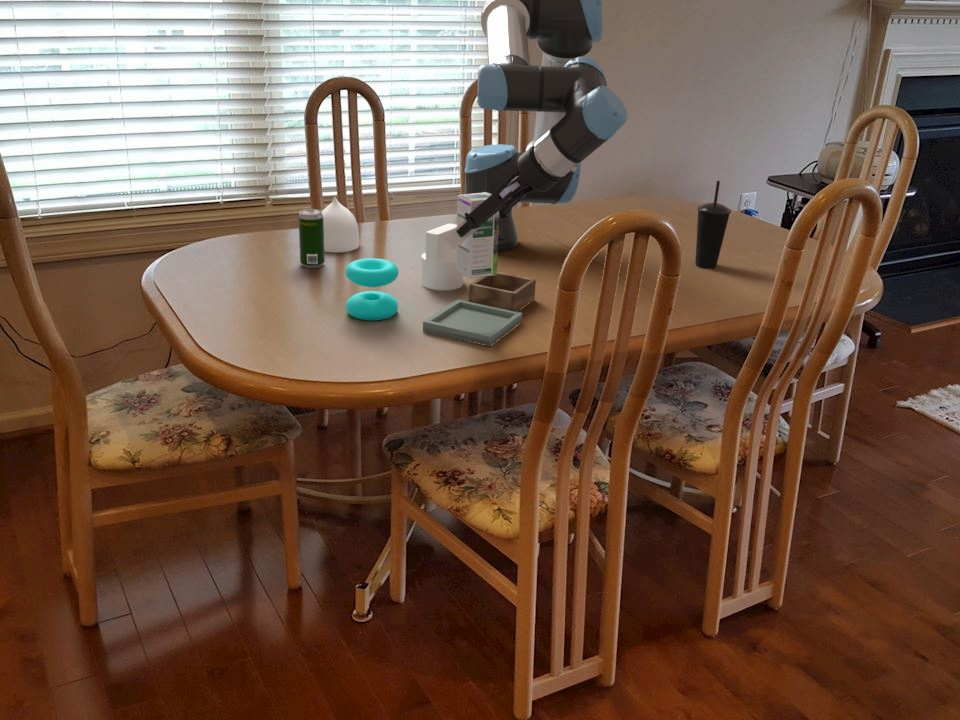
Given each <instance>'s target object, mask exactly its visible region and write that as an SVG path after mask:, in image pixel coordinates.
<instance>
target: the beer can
mask: <svg viewBox="0 0 960 720" xmlns="http://www.w3.org/2000/svg"><path fill="white" fill-rule="evenodd" d="M322 211H323V210H321V209H316V208H308V209H307V208H305V209H302V210H299V211H298V212H299V214H298V234H299V235H298V237H299V263H300V264H301V267H304V268H306V269H318V268H321V267H323V266H324V264H325V261H326V260H325V259H326V258H325V252H324V220H323V214H322Z"/></svg>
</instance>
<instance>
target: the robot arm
mask: <svg viewBox="0 0 960 720" xmlns="http://www.w3.org/2000/svg"><path fill="white" fill-rule="evenodd" d="M602 1H603V0H485V2H484V5H483V6H482V10H481V13H480V14H481V15H480V25H481V29H482V33H483V34H484V36H485V38H486V49H487V51H486V52H487V63H484V64H481V65H480V66H479V67H478V72H477V97H476V98H477V99H476V101H477V102H476V103H477V105H478V107H479V108H481V109H483V110H492V111H493V110H495V111H496V112H503V111H505V112H506V111H507V112H508V111H509V112H510V111H511V112H536V114H535V115H536V116H535V124H534V134H533V140H532V141H529V143H528V144H527V145H526V147H525V148H526V149H525V151H524V152H518V151H517V149H516V147H515V146H514V145H513V144H502V143H501V144H500V143H499V144H497V143H496V144H487V145H483V146H478V147H475V148H473V149H471V150H470V151H468V153H467V154H466V159H465V168H464V173H465V177H464V178H465V180H464V194H473V193H482V192H486V193H490V194H492V195H491V196H490V197H488V198H487V199H486V200H485V201H484V202H483V203H481V204H480V205H479V206H478V207H477V208H476V209H474V210H473V211H472V212H471V213H470V214H468V213H465V214H464V215H465V216H466V217H465V220H464V221H463V222H462V223H460V224H459V225H458V226H457V227H456V228H455V229H454V230H453V231H451V232H450V233H449V234H448V235H447V236H446V237H445V240H446V241H447V242H448V244H449V245H450V246H451V248H452V249H453V250H454V249H456V248H457V247H458V246H459V245H460V244H462V243H463V242H464V241H465V240H466V239H467V238H468V237H470V236H471V235H472V234H473V233H474V232H475V231H476V230H478V229H479V226H480V225H482V224H483V223H484V222H485V221H487V220H488V219H489V218H490V217H492V216H493V215H494V214H495V213H497V212H498V211H499V228H498V252H504V251H508V250H512V249H515V248H516V247H517V246H518V242H519V241H518V239H519V235H518V231H517V230H518V229H517V228H516V224H515V220H514V217H513V216H514V215H513V208H514V207H515V206H516V205H517V204H518V203H526V204H527V203H529V204H530V203H531V204H550V205H557V204H568V203H570V202H571V201H572V200H573V199H574V197H576V196H575V195H576V192H577V191H578V187H579V183H580V176H581V167H582V166H581V162H583V161H584V160H586V158H588V157H589V156H590V155H591V154H593V152H595V151H596V150H597V149H598V148H600V147H601V146H602V145H603V144H604V143H606V142H607V141H608V140H609V139H611V138H613V136H615V134H616V133H617V132H618V131H619V130H620V129H621V128H622V127H623V126H624V125H625V124H626V123H627V120H628V110H627V108H626V107H625V106H624V103H623V101H622V99H621V98H620V96H619V95H618V94H617V93H615V91H613V90H612V89H610V88H609V87H608V85H607V79H606V77H605V72H604V70H603V67H602V66H601V64H600V63H599V62H598V61H597V60H596V59H594V58H592V57H590V56H588V55H589V54H590V53H591V52H592V48H593V44H597V43H600V42H601V41H602V37H603V2H602ZM528 39H529V40H536V46H537V48H538V49H539V51H540V52H541V53H542V57H541V58H542V61H541V65H531V62H530V61H531V59H530V51H529V44H528Z"/></svg>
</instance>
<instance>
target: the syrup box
mask: <svg viewBox="0 0 960 720" xmlns="http://www.w3.org/2000/svg"><path fill="white" fill-rule="evenodd" d="M491 195H492V194H490V193H486V192H482V193H473V194H465V193H464V194H457V205H456V206H457V207H456V208H457V212H456V215H457V217H456V225H457V226H458V225H459V224H460V223H462V222H463V221H464V220H465V217H466V216H465V215H464V214H465V213H468V214H470V213H471V212H472V211H473V210H474V209H476V208H477V207H478V206H479V205H480V204H481V203H483V202H484V201H485V200H486V199H487V198H488V197H490V196H491ZM498 228H499V211H498V212H497V213H495V214H494V215H493V216H492V217H490V218H489V219H488V220H487V221H485V222H484V223H483V224H482V225H480V226H479V229H478V230H476V231H475V232H474V233H473V234H472V235H471V236H470V237H468V238H467V239H466V240H465V241H464V242H463V243H462V244H460V245H459V246H458V247H457V262H456V269H457V270H458V271H459V272H460V273H461V274H463V277H464V276H465V277H466V278H468V279H471V280H472V279H476V278H480V277H485V276H494V275H497V272H498V254H499V253H498V252H499V251H498Z"/></svg>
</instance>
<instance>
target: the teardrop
mask: <svg viewBox="0 0 960 720" xmlns="http://www.w3.org/2000/svg"><path fill="white" fill-rule="evenodd" d="M321 211H322V214H323V220H324V253H336V254H337V253H348V252H351V251H354V250H357V249H358V248H359V247H360V233H359V224H358V222H357V218H356V217H355V216H354V214H353V213H352V212H351V211H350V210H349V209H348V208H347V207H345V206H344V205H342V203H340V202H339V200H338V199H337V197H336V196H334V197H333V200H332V201H331V202H330V203H329V205H327V206H326V207H325V208H324V209H323V210H321Z"/></svg>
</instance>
